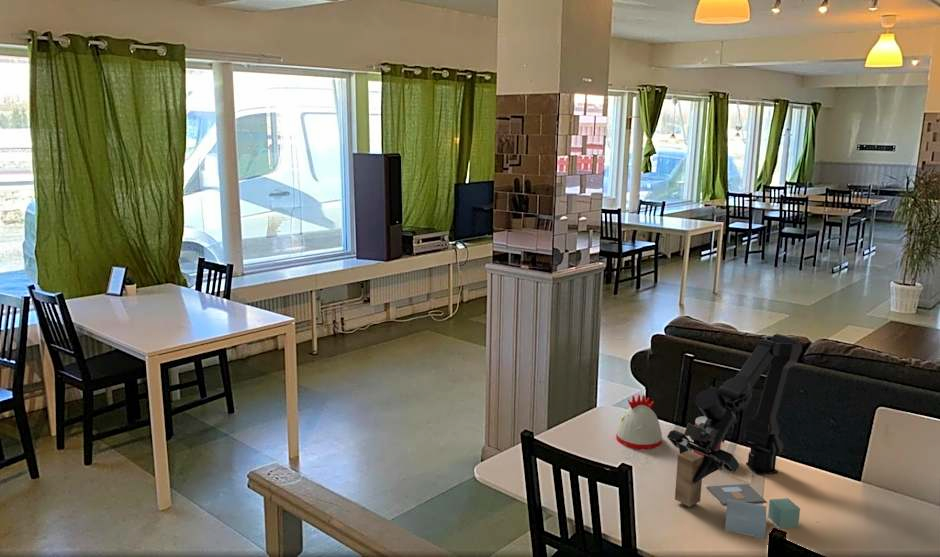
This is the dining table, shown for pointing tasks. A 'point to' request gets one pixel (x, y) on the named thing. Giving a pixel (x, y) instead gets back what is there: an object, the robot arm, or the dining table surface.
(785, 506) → the teal cube
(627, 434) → the kitchen timer
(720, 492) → the card
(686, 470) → the walnut pillar
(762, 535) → the blue base block
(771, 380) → the robot arm
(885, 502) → the dining table surface
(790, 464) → the dining table surface
